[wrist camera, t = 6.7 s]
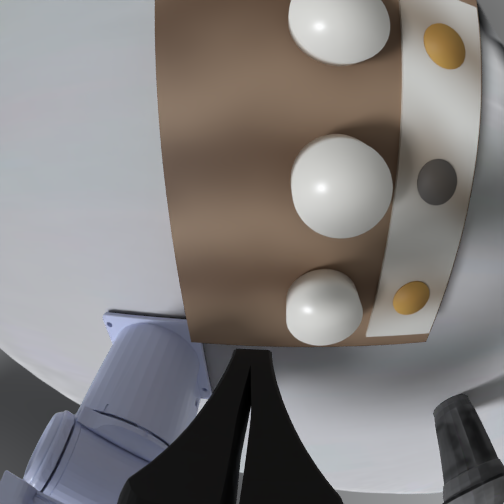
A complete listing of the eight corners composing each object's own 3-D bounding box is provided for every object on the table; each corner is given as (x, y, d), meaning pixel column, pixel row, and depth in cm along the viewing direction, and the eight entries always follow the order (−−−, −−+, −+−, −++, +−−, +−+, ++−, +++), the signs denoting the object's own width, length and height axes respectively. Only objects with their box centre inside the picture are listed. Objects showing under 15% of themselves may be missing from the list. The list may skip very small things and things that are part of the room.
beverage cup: (488, 385, 25) (536, 530, 7) (454, 421, 28) (484, 554, 11) (446, 386, 25) (491, 559, 7) (410, 424, 28) (435, 576, 11)
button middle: (375, 224, 14) (385, 239, 12) (289, 221, 14) (290, 237, 12) (384, 137, 12) (397, 144, 10) (290, 132, 12) (292, 137, 11)
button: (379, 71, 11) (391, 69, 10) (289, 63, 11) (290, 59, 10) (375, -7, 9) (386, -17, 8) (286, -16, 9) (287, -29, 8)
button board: (415, 318, 21) (427, 344, 18) (199, 318, 22) (190, 345, 19) (453, 2, 10) (478, -7, 8) (171, -19, 11) (153, -35, 9)
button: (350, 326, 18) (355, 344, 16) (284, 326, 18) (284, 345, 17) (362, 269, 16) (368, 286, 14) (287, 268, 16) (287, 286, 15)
